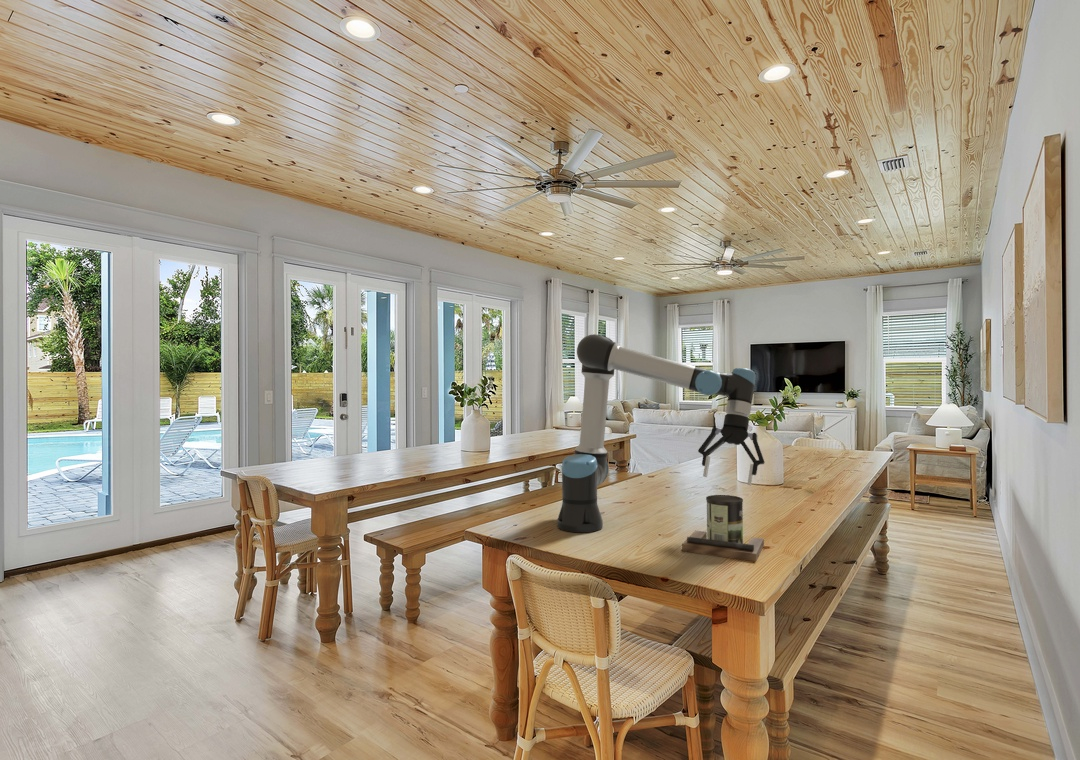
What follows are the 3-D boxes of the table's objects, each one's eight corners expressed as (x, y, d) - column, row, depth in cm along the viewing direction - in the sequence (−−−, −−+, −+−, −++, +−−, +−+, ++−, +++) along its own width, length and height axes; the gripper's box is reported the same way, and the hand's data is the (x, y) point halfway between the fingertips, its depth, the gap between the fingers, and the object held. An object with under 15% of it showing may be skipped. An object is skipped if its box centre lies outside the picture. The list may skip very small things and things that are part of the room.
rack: (682, 551, 162) (681, 538, 162) (695, 536, 176) (695, 525, 176) (756, 561, 152) (756, 547, 152) (763, 545, 166) (763, 533, 166)
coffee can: (740, 541, 170) (740, 495, 170) (745, 552, 160) (745, 502, 160) (705, 540, 172) (704, 493, 172) (708, 550, 162) (707, 501, 162)
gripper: (779, 423, 180) (769, 489, 177) (700, 412, 192) (689, 474, 188) (777, 419, 174) (767, 487, 170) (696, 408, 186) (685, 471, 182)
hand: (726, 480), depth 179 cm, fingers open, 13 cm apart
